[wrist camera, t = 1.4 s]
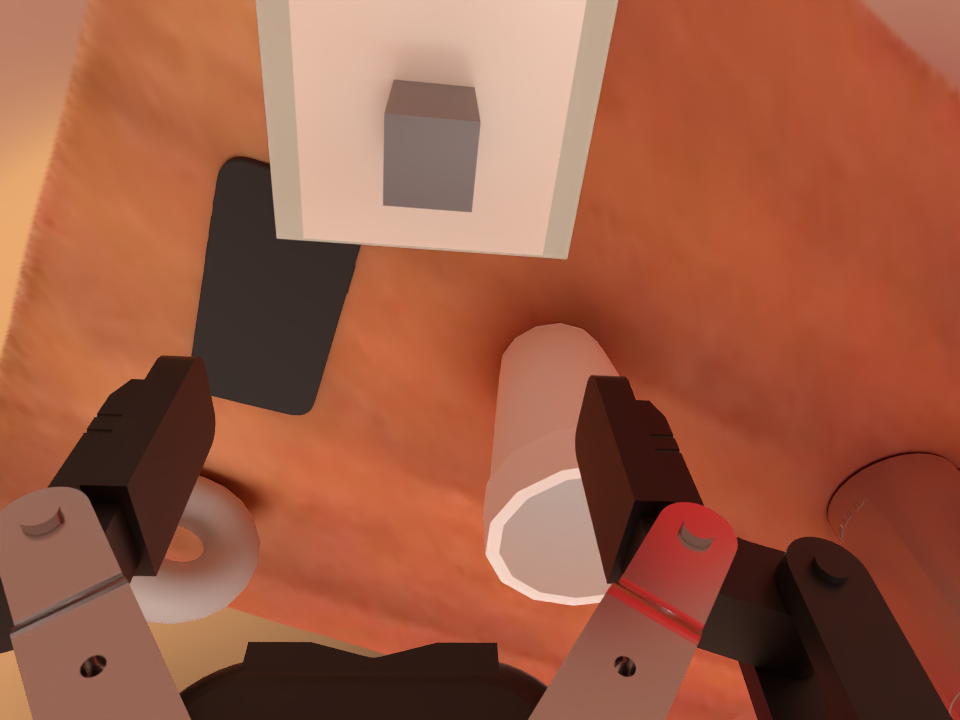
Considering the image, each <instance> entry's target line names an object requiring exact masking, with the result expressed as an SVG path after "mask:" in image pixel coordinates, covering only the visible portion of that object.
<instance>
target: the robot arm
mask: <svg viewBox="0 0 960 720" xmlns="http://www.w3.org/2000/svg"><path fill="white" fill-rule="evenodd" d="M214 434H215V413H214V408H213V403H212V398H211V393H210V388H209V383H208V377H207V372H206V367H205V364H204V361H203V359H202V358H200V357H184V356H160V357H159V358H158V359H157V360H156V362H155V364H154V365H153V367H152V368H151V370H150V372H149V373H148V375H147V376H146V378H145V380H141V379H131V380H130V381H128V382H127V383H126V384H124V385H123V386H122V387H120V388H119V389H117V390H116V391H115V392H113V393H112V394H111V395H109V397H108V398H107V400H106V401H105V403H104V404H103V406H102V407H101V409H100V410H99V412H98V413H97V417H95V418H94V419H93V421H92V422H91V424H90V425H89V427H88V428H87V433H84V434H83V436H82V437H81V438H80V440H79V441H78V443H77V444H76V446H75V447H74V449H73V450H72V452H71V453H70V455H69V456H68V458H67V459H66V461H65V462H64V464H63V465H62V467H61V468H60V470H59V471H58V473H57V474H56V476H55V477H54V479H53V480H52V482H51V483H50V485H49V486H48V487H47V488H45V489H41V490H37V491H34V492H31V493H29V494H27V495H24V496H22V497H20V498H19V499H17V500H15V501H13V502H12V503H11V504H9V505H8V506H7V507H5V508H4V509H3V510H2V511H1V512H0V653H4V652H7V651H11V650H14V652H15V656H16V659H17V663H18V667H19V670H20V674H21V678H22V681H23V685H24V689H25V692H26V696H27V699H28V703H29V706H30V710H31V713H32V717H33V720H665V719H666V717H667V715H668V712H669V710H670V708H671V705H672V703H673V701H674V698H675V696H676V694H677V692H678V689H679V687H680V685H681V682H682V680H683V678H684V675H685V673H686V671H687V668H688V666H689V664H690V661H691V659H692V657H693V655H694V652H695V650H696V648H700V649H703V650H706V651H709V652H713V653H716V654H719V655H722V656H725V657H728V658H731V659H734V660H738V662H739V665H740V668H741V671H742V674H743V677H744V680H745V683H746V686H747V689H748V692H749V695H750V698H751V701H752V704H753V707H754V710H755V713H756V716H757V719H758V720H960V470H958V469H957V468H955V466H954V465H953V464H952V463H951V462H950V461H948V460H946V459H944V458H943V457H940V456H936V455H932V454H921V453H915V454H906V455H900V456H896V457H892V458H888V459H886V460H883V461H880V462H878V463H875V464H873V465H871V466H869V467H867V468H865V469H863V470H862V471H860V472H859V473H857V474H856V475H854V476H853V477H851V478H850V479H849V480H848V481H847V482H846V483H845V484H843V485H842V486H841V487H840V488H839V490H838V491H837V492H836V494H835V495H834V496H833V498H832V500H831V503H830V505H829V508H828V520H829V523H830V525H831V526H832V528H833V530H834V531H835V533H836V535H837V536H838V538H839V539H840V541H841V543H842V544H843V546H844V548H843V547H841V546H839V545H837V544H835V543H833V542H831V541H828V540H825V539H821V538H816V537H803V538H799V539H796V540H795V541H793V542H792V543H791V544H790V545H789V547H788V548H787V550H786V552H783V551H779V550H776V549H772V548H769V547H765V546H762V545H758V544H755V543H751V542H748V541H746V540H743V539H741V538H738V537H736V534H735V532H734V530H733V528H732V527H731V525H730V524H729V523H728V522H727V521H726V520H725V519H724V518H723V517H722V516H721V515H719V514H718V513H716V512H715V511H713V510H711V509H710V508H707V507H705V506H704V505H703V502H702V500H701V498H700V495H699V493H698V491H697V488H696V486H695V484H694V482H693V479H692V477H691V475H690V472H689V470H688V468H687V466H686V463H685V461H684V459H683V456H682V454H681V453H679V450H680V449H679V447H678V445H677V443H676V440H675V438H673V433H672V431H671V429H670V427H669V424H668V422H667V420H666V417H665V416H664V415H663V414H662V413H661V412H660V411H659V410H658V409H657V408H656V407H655V406H654V405H653V404H652V403H651V402H650V401H643V400H636V399H635V397H634V394H633V391H632V389H631V386H630V384H629V381H628V379H627V378H626V377H624V376H602V375H591V376H590V377H589V379H588V381H587V385H586V389H585V393H584V398H583V402H582V406H581V410H580V415H579V419H578V423H577V428H576V434H575V453H576V459H577V463H578V467H579V471H580V475H581V479H582V483H583V487H584V491H585V496H586V500H587V504H588V508H589V512H590V516H591V520H592V524H593V528H594V533H595V537H596V541H597V545H598V549H599V553H600V557H601V561H602V565H603V570H604V574H605V578H606V582H607V584H611V586H610V587H609V589H608V590H607V592H606V593H605V595H604V597H603V598H602V600H601V602H600V603H599V605H598V606H597V608H596V610H595V611H594V613H593V615H592V616H591V618H590V620H589V621H588V623H587V624H586V626H585V628H584V629H583V631H582V633H581V634H580V636H579V637H578V639H577V641H576V642H575V644H574V646H573V647H572V649H571V651H570V652H569V654H568V655H567V657H566V659H565V660H564V662H563V664H562V665H561V667H560V668H559V670H558V672H557V673H556V675H555V677H554V678H553V680H552V681H551V683H550V685H549V686H546V685H545V684H543V683H542V682H541V681H539V680H538V679H536V678H535V677H533V676H531V675H530V674H528V673H526V672H524V671H522V670H520V669H517V668H515V667H512V666H510V665H507V664H504V663H500V662H498V650H497V643H434V644H430V645H426V646H422V647H418V648H414V649H410V650H406V651H402V652H398V653H394V654H390V655H386V656H382V657H377V658H371V657H366V656H362V655H358V654H354V653H350V652H346V651H343V650H339V649H335V648H331V647H327V646H324V645H320V644H316V643H312V642H248V646H247V650H246V654H245V658H244V661H243V662H242V663H239V664H235V665H232V666H229V667H227V668H223V669H221V670H218V671H216V672H214V673H212V674H210V675H208V676H206V677H204V678H202V679H200V680H198V681H197V682H195V683H194V684H192V685H190V686H189V687H187V688H186V689H185V690H183V691H182V692H180V693H179V692H178V690H177V688H176V686H175V683H174V681H173V679H172V677H171V675H170V673H169V670H168V668H167V666H166V664H165V661H164V659H163V657H162V655H161V653H160V650H159V648H158V646H157V644H156V642H155V639H154V637H153V635H152V633H151V631H150V628H149V626H148V624H147V622H146V620H145V617H144V615H143V613H142V611H141V609H140V606H139V604H138V602H137V600H136V598H135V595H134V593H133V591H132V589H131V587H130V582H131V580H132V578H133V576H157V573H158V571H159V569H160V566H161V564H162V562H163V559H164V557H165V554H166V552H167V550H168V547H169V545H170V543H171V540H172V538H173V536H174V533H175V531H176V528H177V526H178V524H179V521H180V519H181V517H182V514H183V512H184V510H185V507H186V505H187V502H188V500H189V498H190V495H191V493H192V491H193V488H194V486H195V484H196V481H197V479H198V476H199V474H200V472H201V469H202V467H203V465H204V462H205V460H206V458H207V455H208V453H209V450H210V448H211V446H212V443H213V439H214Z"/></svg>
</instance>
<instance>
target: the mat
mask: <svg viewBox="0 0 960 720" xmlns="http://www.w3.org/2000/svg"><path fill="white" fill-rule="evenodd" d="M617 5H618V0H587V2H586V7H585V13H584V19H583V25H582V31H581V36H580V42H579V48H578V54H577V60H576V65H575V71H574V77H573V83H572V89H571V94H570V100H569V106H568V112H567V118H566V123H565V129H564V135H563V141H562V147H561V152H560V158H559V164H558V170H557V176H556V181H555V187H554V193H553V199H552V205H551V210H550V216H549V222H548V228H547V234H546V239H545V245H544V251H543V255H530V254H516V253H502V252H488V251H474V250H460V249H446V248H432V247H418V246H404V245H390V244H376V243H362V242H348V241H334V240H321V239H307V238H303V222H302V206H301V190H300V174H299V158H298V142H297V126H296V110H295V94H294V78H293V62H292V46H291V30H290V14H289V0H256V11H257V22H258V34H259V45H260V56H261V68H262V79H263V90H264V101H265V113H266V124H267V135H268V147H269V158H270V169H271V181H272V192H273V203H274V214H275V226H276V237H277V239H290V240H304V241H318V242H332V243H346V244H360V245H374V246H388V247H402V248H416V249H430V250H444V251H458V252H472V253H486V254H500V255H514V256H528V257H542V258H556V259H567V258H568V253H569V248H570V243H571V238H572V233H573V228H574V223H575V217H576V212H577V207H578V202H579V197H580V192H581V187H582V182H583V177H584V172H585V167H586V162H587V157H588V152H589V147H590V141H591V136H592V131H593V126H594V121H595V116H596V111H597V106H598V101H599V96H600V91H601V86H602V81H603V76H604V71H605V65H606V60H607V55H608V50H609V45H610V40H611V35H612V30H613V25H614V20H615V15H616V10H617Z"/></svg>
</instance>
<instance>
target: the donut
mask: <svg viewBox="0 0 960 720" xmlns="http://www.w3.org/2000/svg"><path fill="white" fill-rule="evenodd" d="M178 526H180V527H184V528H186V529H188V530H190V531H192V532H193V533H194V534H195V535H196V536H198V537H199V539H200V540H201V542H202V544H203V548H204V550H203V553H202V555H201V556H200V557H199V558H198V559H196V560H193V561H189V562H177V561H171V560H168V559H166V558H164V559H163V562H162V564H161V566H160V569H159V571H158V573H157V576H133V578H132V580H131V582H130V587H131V589H132V591H133V593H134V595H135V598H136V600H137V602H138V604H139V606H140V609H141V611H142V613H143V615H144V617H145V620H146V621H148V622H156V623H165V624H174V623H181V622H186V621H193V620H199V619H203V618H205V617H207V616H209V615H211V614H213V613H215V612H217V611H219V610H221V609H223V608H225V607H226V606H227V605H228V604H230V603H231V602H232V601H233V600H234V599H235V598H236V597H237V596H238V595H239V594H240V593H241V592H242V591H243V590H244V589H245V588H246V587H247V585H248V583H249V581H250V579H251V577H252V575H253V573H254V571H255V569H256V566H257V564H258V556H259V545H260V540H259V536H258V533H257V529H256V525H255V522H254V518H253V517H252V515H251V514H250V512H249V511H248V509H247V508H246V506H245V505H244V503H243V502H242V501H241V500H240V499H239V498H238V497H236V496H235V495H234V494H233V493H232V492H231V491H229V490H228V489H227V488H226V487H224V486H222V485H220V484H218V483H216V482H214V481H212V480H210V479H208V478H205V477H202V476H198V479H197V481H196V484H195V486H194V488H193V491H192V493H191V495H190V498H189V500H188V502H187V505H186V507H185V510H184V512H183V514H182V517H181V519H180V521H179V524H178Z"/></svg>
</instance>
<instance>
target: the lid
mask: <svg viewBox="0 0 960 720" xmlns="http://www.w3.org/2000/svg"><path fill="white" fill-rule="evenodd" d="M586 2H587V0H289V14H290V30H291V46H292V62H293V78H294V94H295V110H296V126H297V142H298V158H299V174H300V190H301V206H302V222H303V238H307V239H321V240H334V241H348V242H362V243H376V244H390V245H404V246H418V247H432V248H446V249H460V250H474V251H488V252H502V253H516V254H530V255H543V251H544V245H545V239H546V234H547V228H548V222H549V216H550V210H551V205H552V199H553V193H554V187H555V181H556V176H557V170H558V164H559V158H560V152H561V147H562V141H563V135H564V129H565V123H566V118H567V112H568V106H569V100H570V94H571V89H572V83H573V77H574V71H575V65H576V60H577V54H578V48H579V42H580V36H581V31H582V25H583V19H584V13H585V7H586Z"/></svg>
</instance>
